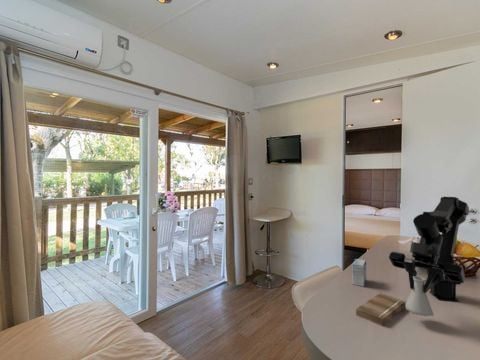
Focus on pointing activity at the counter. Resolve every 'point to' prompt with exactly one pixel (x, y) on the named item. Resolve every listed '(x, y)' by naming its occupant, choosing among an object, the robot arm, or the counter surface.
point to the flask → (419, 299)
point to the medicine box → (359, 272)
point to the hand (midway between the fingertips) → (417, 290)
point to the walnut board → (380, 308)
